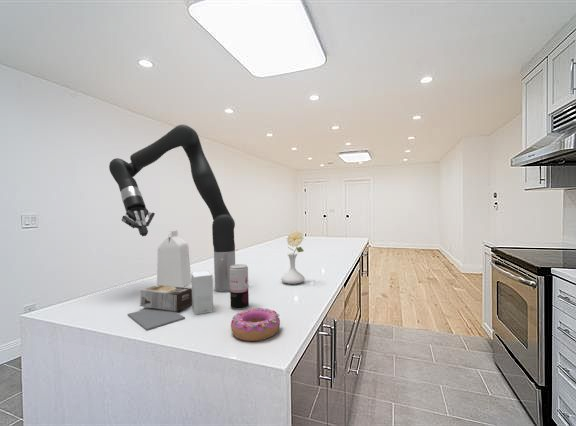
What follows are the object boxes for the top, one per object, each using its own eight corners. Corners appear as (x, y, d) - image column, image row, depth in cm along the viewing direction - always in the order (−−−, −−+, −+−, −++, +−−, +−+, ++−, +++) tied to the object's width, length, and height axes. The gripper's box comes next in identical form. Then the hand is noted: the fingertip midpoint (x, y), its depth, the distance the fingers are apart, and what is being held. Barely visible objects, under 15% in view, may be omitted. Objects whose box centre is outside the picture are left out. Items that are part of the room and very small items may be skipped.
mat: (127, 315, 97) (127, 313, 97) (162, 306, 106) (162, 304, 106) (146, 330, 85) (146, 328, 85) (185, 318, 93) (185, 317, 93)
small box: (213, 311, 99) (212, 274, 99) (194, 315, 96) (193, 277, 96) (209, 304, 107) (208, 270, 106) (191, 307, 104) (190, 272, 103)
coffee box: (157, 284, 111) (193, 288, 107) (157, 300, 111) (193, 305, 107) (140, 289, 102) (178, 294, 98) (139, 307, 102) (177, 312, 98)
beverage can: (241, 302, 108) (241, 263, 108) (252, 306, 104) (251, 265, 103) (227, 307, 104) (226, 266, 103) (237, 311, 99) (236, 268, 99)
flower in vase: (276, 282, 136) (275, 230, 135) (293, 278, 144) (292, 229, 143) (295, 288, 126) (294, 232, 126) (312, 283, 134) (311, 230, 133)
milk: (182, 288, 129) (180, 231, 129) (156, 288, 129) (155, 232, 129) (191, 281, 141) (189, 229, 141) (168, 281, 141) (166, 229, 141)
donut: (220, 338, 79) (220, 320, 79) (248, 319, 92) (247, 304, 92) (266, 347, 74) (265, 328, 73) (288, 326, 87) (287, 309, 86)
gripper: (116, 195, 113) (128, 233, 107) (151, 193, 122) (163, 228, 117) (113, 206, 117) (124, 242, 112) (147, 203, 127) (158, 236, 122)
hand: (144, 235), depth 114 cm, fingers closed
